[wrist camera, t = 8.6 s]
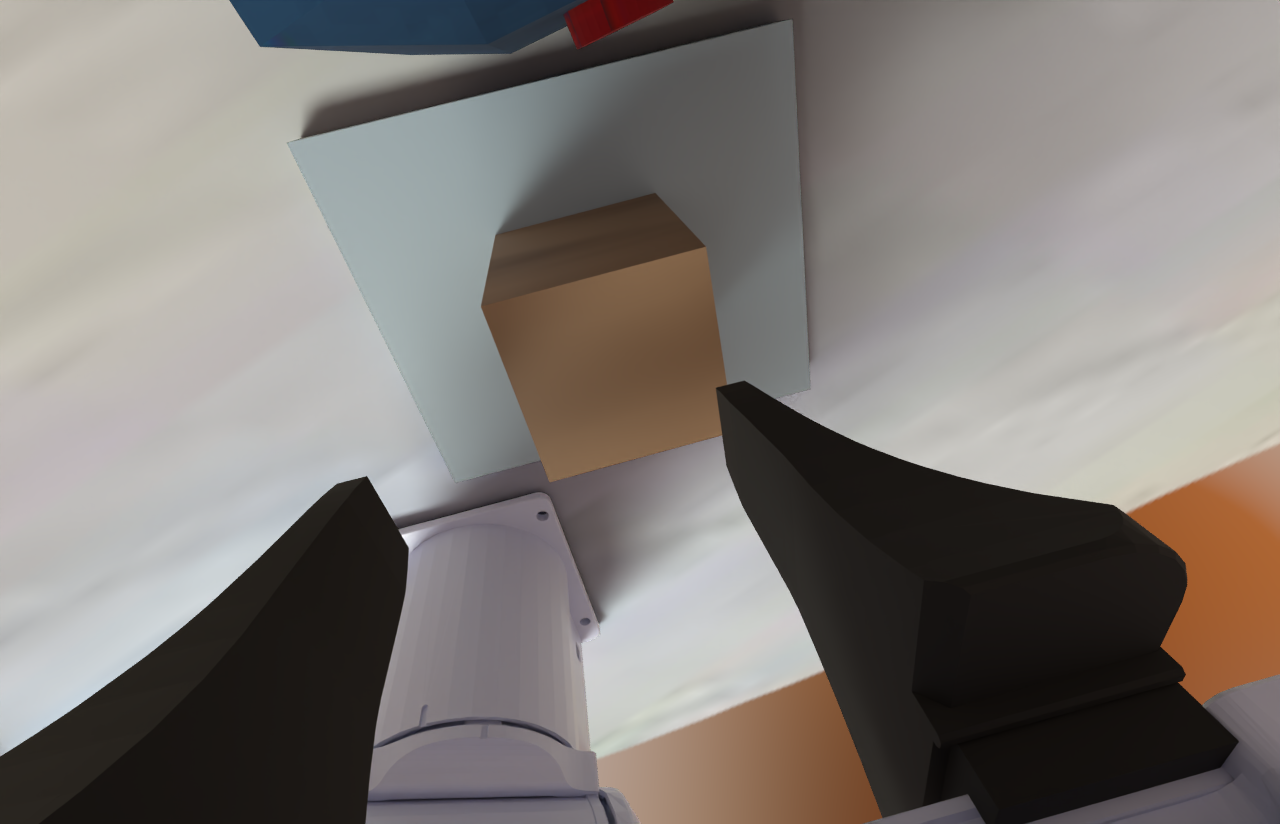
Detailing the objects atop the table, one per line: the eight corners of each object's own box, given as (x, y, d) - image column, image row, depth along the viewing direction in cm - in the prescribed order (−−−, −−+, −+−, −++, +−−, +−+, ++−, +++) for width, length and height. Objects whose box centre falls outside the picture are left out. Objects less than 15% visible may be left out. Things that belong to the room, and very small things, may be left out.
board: (800, 377, 23) (810, 389, 22) (458, 467, 23) (455, 482, 22) (779, 21, 17) (792, 19, 16) (299, 138, 16) (286, 143, 15)
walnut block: (683, 338, 20) (734, 431, 15) (544, 376, 20) (549, 482, 15) (655, 192, 17) (705, 246, 12) (495, 235, 17) (480, 306, 12)
